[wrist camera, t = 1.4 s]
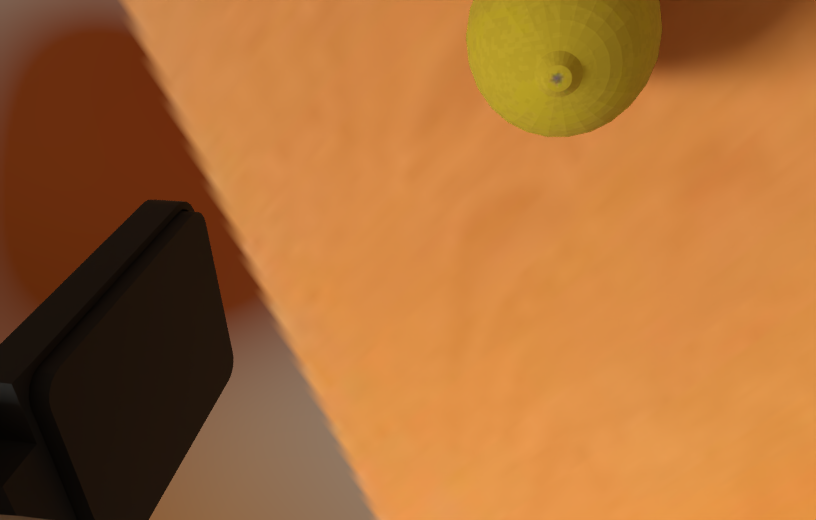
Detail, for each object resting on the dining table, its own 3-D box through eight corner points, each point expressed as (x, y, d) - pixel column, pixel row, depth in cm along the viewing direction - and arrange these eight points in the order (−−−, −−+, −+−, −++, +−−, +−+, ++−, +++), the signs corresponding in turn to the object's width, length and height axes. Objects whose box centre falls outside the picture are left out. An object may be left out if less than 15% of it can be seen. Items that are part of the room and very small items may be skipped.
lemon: (611, -125, 23) (623, -86, 16) (675, 37, 25) (708, 129, 18) (453, -36, 25) (407, 30, 19) (524, 105, 27) (506, 210, 21)
